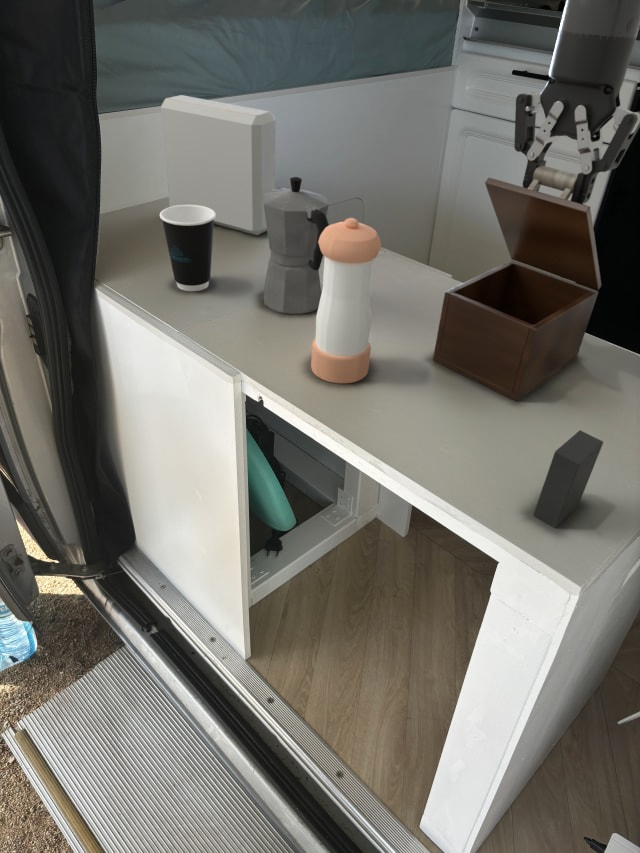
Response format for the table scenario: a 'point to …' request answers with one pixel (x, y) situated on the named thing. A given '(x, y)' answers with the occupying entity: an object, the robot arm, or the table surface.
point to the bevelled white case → (220, 159)
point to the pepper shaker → (345, 302)
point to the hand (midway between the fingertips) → (553, 199)
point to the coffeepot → (294, 248)
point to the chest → (512, 327)
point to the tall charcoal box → (567, 478)
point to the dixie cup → (189, 244)
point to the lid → (547, 226)
